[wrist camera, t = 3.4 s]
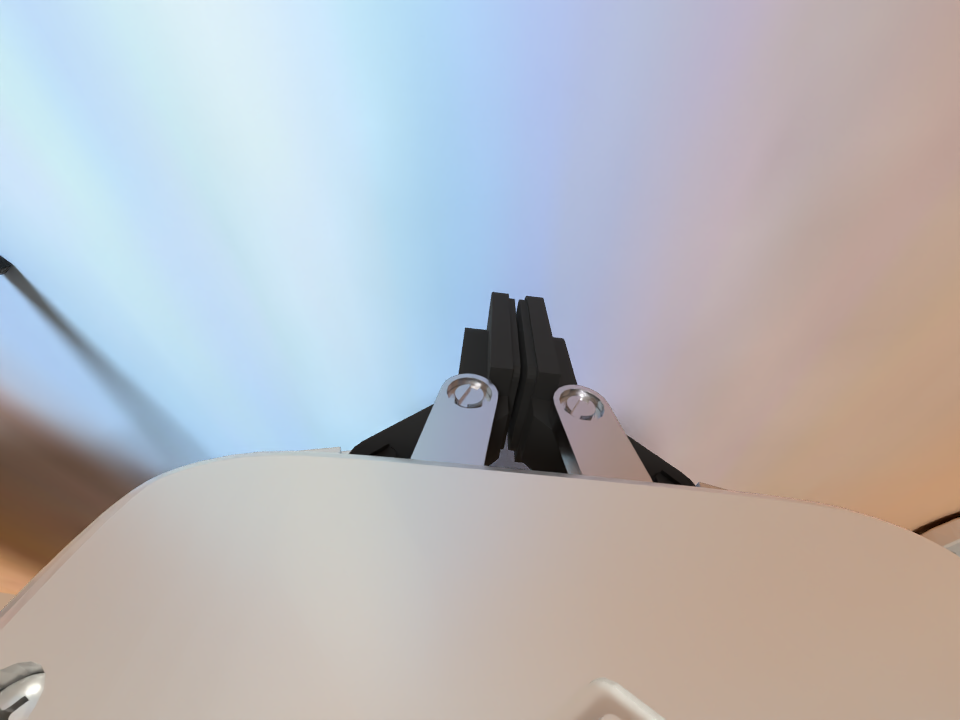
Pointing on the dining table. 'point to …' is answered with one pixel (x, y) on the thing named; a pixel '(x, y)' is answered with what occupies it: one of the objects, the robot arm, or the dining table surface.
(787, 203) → the dining table surface
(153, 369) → the dining table surface
